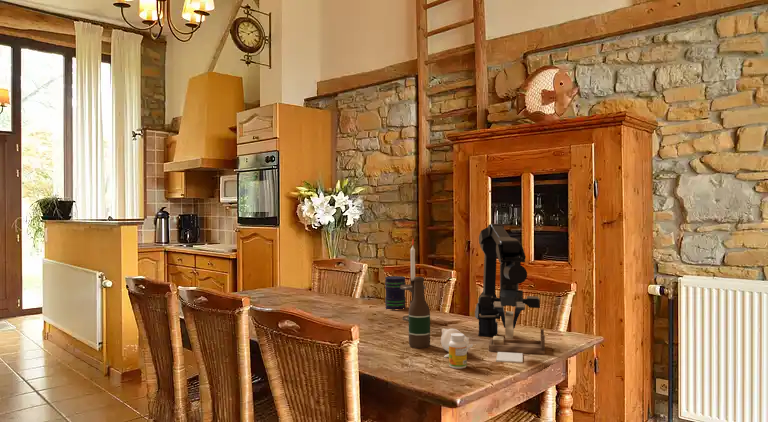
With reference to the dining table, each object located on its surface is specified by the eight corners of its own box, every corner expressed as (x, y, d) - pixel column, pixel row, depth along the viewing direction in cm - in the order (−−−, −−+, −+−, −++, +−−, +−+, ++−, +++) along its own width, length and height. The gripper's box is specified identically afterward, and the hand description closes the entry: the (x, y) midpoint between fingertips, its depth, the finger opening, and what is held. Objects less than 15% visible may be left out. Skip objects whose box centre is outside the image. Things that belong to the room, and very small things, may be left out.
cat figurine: (467, 328, 176) (449, 320, 187) (442, 349, 173) (425, 339, 184) (479, 350, 178) (461, 340, 189) (455, 370, 175) (437, 359, 186)
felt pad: (496, 361, 172) (496, 360, 172) (497, 353, 181) (497, 351, 181) (522, 362, 170) (522, 361, 170) (522, 354, 179) (522, 353, 179)
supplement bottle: (447, 364, 169) (447, 332, 169) (464, 363, 170) (464, 332, 170) (450, 369, 164) (450, 336, 164) (468, 368, 164) (468, 336, 164)
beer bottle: (432, 343, 194) (432, 276, 194) (427, 349, 187) (427, 278, 187) (411, 342, 197) (411, 275, 197) (405, 347, 190) (405, 278, 189)
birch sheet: (505, 338, 172) (505, 315, 172) (506, 332, 180) (505, 311, 180) (513, 338, 172) (512, 316, 171) (513, 332, 179) (513, 311, 179)
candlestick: (409, 315, 245) (409, 237, 245) (430, 318, 239) (429, 238, 238) (395, 320, 236) (395, 238, 236) (417, 323, 230) (416, 239, 230)
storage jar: (383, 310, 259) (383, 278, 259) (386, 306, 269) (386, 275, 269) (404, 310, 258) (404, 278, 258) (407, 306, 267) (406, 276, 267)
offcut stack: (492, 347, 185) (492, 340, 185) (493, 342, 192) (493, 335, 192) (503, 347, 184) (503, 340, 184) (504, 342, 191) (504, 335, 191)
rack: (488, 351, 184) (488, 333, 184) (490, 343, 194) (490, 326, 194) (544, 354, 180) (544, 335, 180) (543, 346, 189) (543, 329, 189)
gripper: (477, 282, 170) (477, 332, 170) (540, 283, 165) (540, 335, 165) (480, 277, 181) (480, 324, 181) (539, 278, 176) (539, 327, 176)
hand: (509, 328), depth 176 cm, fingers closed on birch sheet, 2 cm apart
